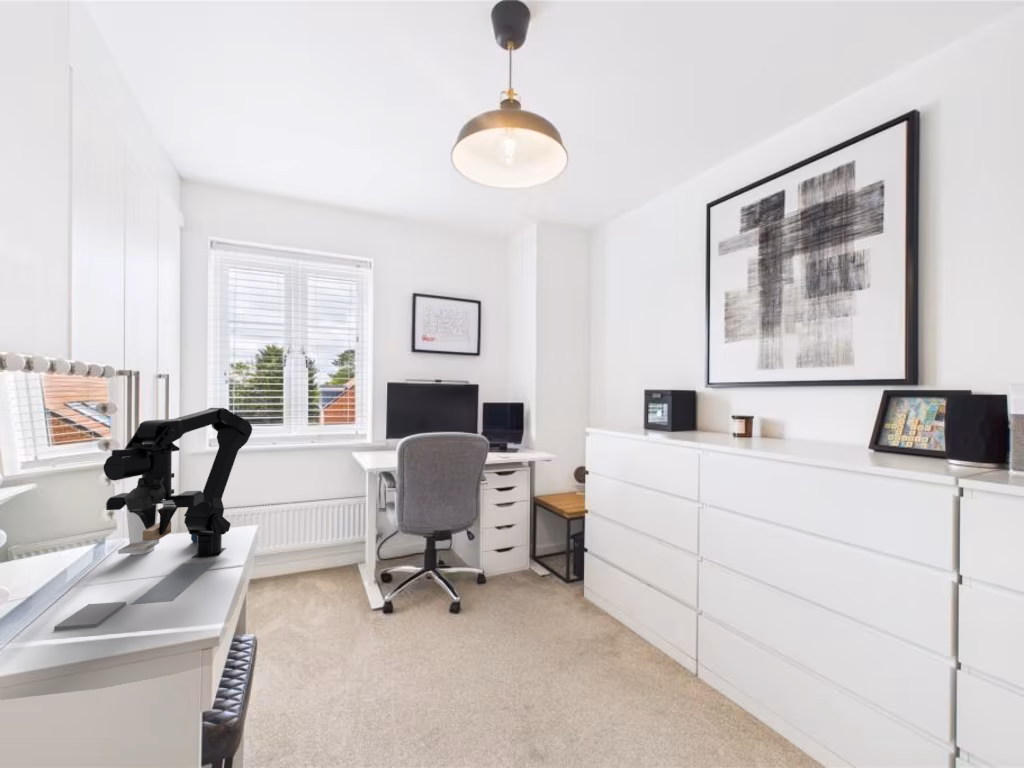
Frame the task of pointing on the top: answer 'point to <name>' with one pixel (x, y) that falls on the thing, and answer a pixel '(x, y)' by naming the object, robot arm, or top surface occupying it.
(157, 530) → the turner
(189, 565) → the mat
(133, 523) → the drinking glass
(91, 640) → the top surface
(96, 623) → the tile
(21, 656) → the top surface
